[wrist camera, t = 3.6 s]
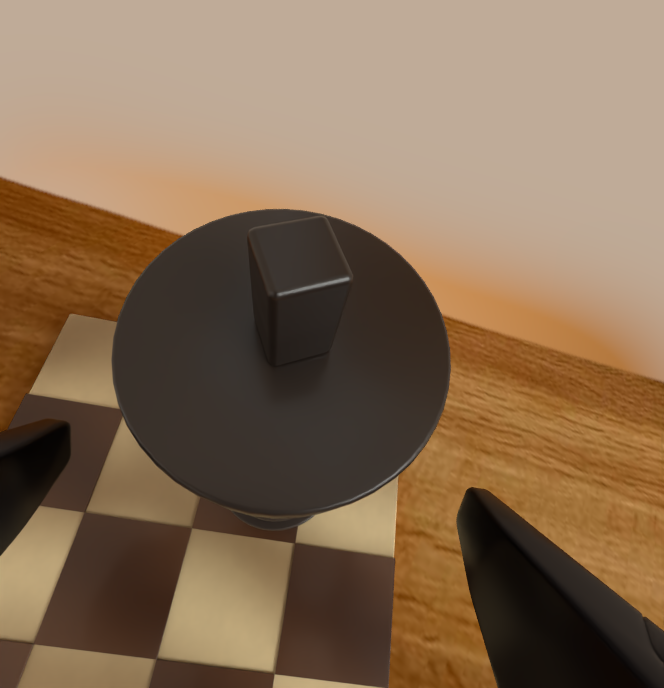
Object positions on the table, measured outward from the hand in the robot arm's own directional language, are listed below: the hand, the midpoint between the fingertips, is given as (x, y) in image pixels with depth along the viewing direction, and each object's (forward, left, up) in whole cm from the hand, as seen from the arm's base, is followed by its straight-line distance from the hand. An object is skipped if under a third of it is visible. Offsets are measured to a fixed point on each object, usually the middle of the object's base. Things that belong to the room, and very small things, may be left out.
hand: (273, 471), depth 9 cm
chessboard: (0, +3, -9) cm, 9 cm away
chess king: (+1, -1, -8) cm, 8 cm away
